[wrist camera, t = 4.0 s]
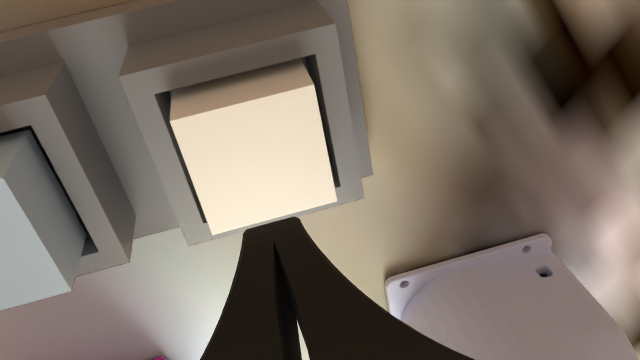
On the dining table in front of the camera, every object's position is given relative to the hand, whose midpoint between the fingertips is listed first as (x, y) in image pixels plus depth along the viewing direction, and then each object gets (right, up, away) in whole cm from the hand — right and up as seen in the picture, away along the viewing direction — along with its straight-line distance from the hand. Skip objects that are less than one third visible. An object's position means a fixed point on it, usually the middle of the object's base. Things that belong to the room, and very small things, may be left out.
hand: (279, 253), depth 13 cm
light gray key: (-10, +1, +5) cm, 11 cm away
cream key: (-1, +4, +6) cm, 8 cm away
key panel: (-6, +4, +8) cm, 11 cm away
